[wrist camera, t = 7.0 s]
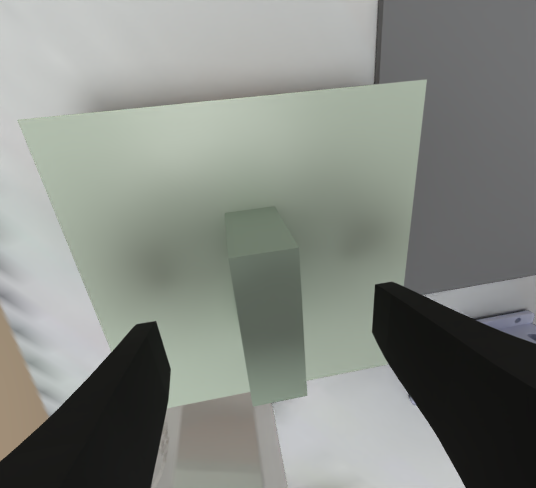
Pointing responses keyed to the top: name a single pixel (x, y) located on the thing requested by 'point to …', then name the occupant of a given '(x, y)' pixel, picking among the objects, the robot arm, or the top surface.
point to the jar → (220, 446)
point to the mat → (468, 136)
